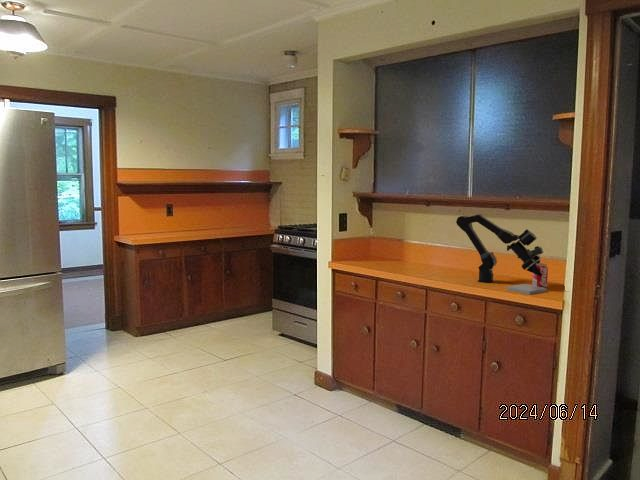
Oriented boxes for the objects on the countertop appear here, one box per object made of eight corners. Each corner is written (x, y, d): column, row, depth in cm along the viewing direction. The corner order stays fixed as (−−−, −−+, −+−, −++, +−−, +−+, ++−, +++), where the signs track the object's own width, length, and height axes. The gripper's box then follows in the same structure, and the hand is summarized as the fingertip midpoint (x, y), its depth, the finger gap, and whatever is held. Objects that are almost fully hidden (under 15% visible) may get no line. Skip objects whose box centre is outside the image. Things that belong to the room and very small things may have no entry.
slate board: (507, 289, 262) (507, 286, 262) (524, 286, 269) (524, 283, 269) (529, 294, 251) (529, 291, 251) (546, 291, 258) (546, 288, 257)
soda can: (548, 287, 268) (550, 264, 266) (544, 289, 263) (545, 265, 261) (534, 285, 272) (536, 262, 271) (529, 287, 267) (530, 264, 266)
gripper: (529, 243, 259) (552, 267, 254) (537, 239, 275) (558, 262, 270) (512, 257, 264) (534, 281, 260) (520, 253, 280) (541, 275, 275)
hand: (543, 274), depth 266 cm, fingers closed on soda can, 7 cm apart
